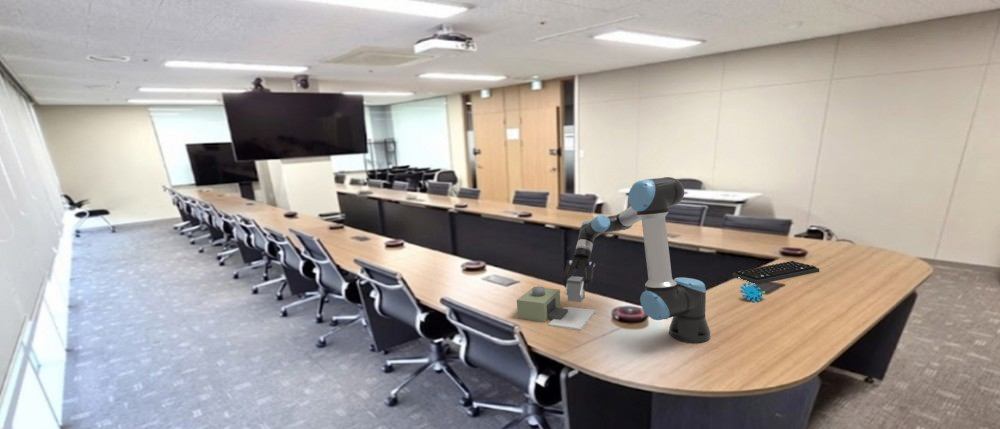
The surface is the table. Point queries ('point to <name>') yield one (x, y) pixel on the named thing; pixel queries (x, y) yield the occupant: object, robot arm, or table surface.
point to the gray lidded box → (575, 289)
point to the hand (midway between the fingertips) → (573, 294)
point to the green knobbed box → (551, 309)
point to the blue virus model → (751, 292)
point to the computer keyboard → (775, 272)
